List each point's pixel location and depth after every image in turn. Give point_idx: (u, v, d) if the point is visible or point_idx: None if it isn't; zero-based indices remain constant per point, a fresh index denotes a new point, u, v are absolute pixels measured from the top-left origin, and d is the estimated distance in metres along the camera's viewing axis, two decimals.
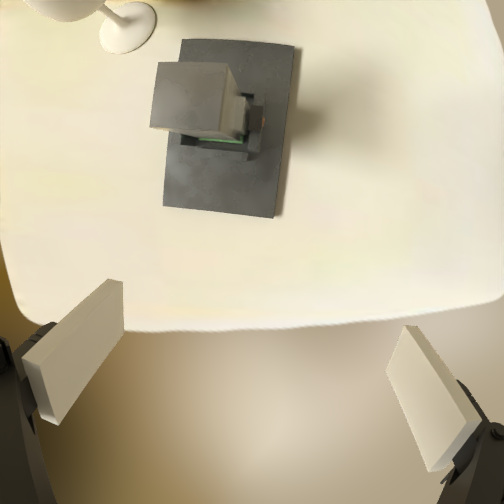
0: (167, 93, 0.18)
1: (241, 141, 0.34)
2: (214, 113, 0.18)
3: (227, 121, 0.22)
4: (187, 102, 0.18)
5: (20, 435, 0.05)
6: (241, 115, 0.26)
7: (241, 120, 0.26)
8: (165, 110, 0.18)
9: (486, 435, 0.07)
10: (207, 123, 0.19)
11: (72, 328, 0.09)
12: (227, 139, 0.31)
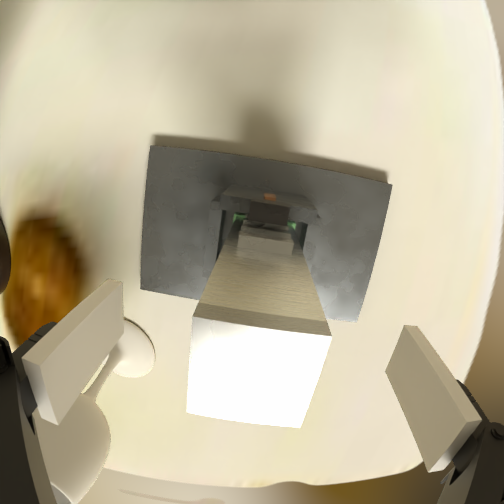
0: (247, 405, 0.11)
1: (292, 224, 0.25)
2: (297, 341, 0.10)
3: (293, 286, 0.13)
4: (267, 380, 0.11)
5: (20, 435, 0.05)
6: (269, 242, 0.17)
7: (277, 242, 0.17)
8: (276, 409, 0.11)
9: (486, 435, 0.07)
10: (314, 352, 0.10)
11: (72, 328, 0.09)
12: None
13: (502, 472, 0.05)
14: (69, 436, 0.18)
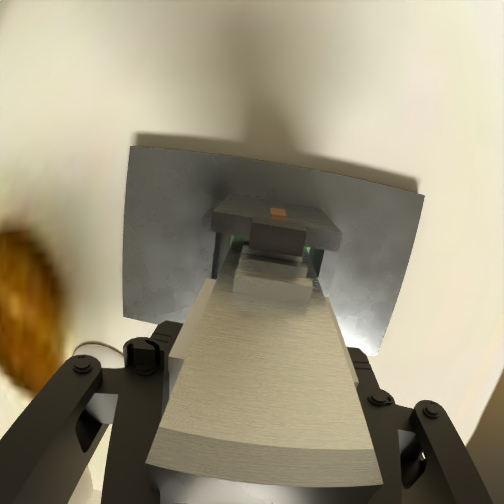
0: None
1: None
2: (326, 495, 0.05)
3: (317, 372, 0.08)
4: None
5: None
6: (278, 285, 0.12)
7: (290, 286, 0.12)
8: None
9: (363, 404, 0.08)
10: (351, 501, 0.05)
11: None
12: None
13: (393, 441, 0.07)
14: None
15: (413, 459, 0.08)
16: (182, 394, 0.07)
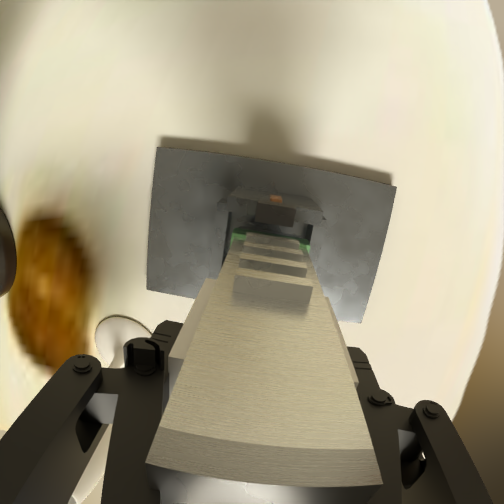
0: None
1: (306, 246, 0.20)
2: (325, 495, 0.05)
3: (317, 372, 0.08)
4: None
5: None
6: (278, 285, 0.12)
7: (290, 286, 0.12)
8: None
9: (363, 404, 0.08)
10: (351, 501, 0.05)
11: None
12: None
13: (393, 441, 0.07)
14: None
15: (413, 459, 0.08)
16: (182, 394, 0.07)
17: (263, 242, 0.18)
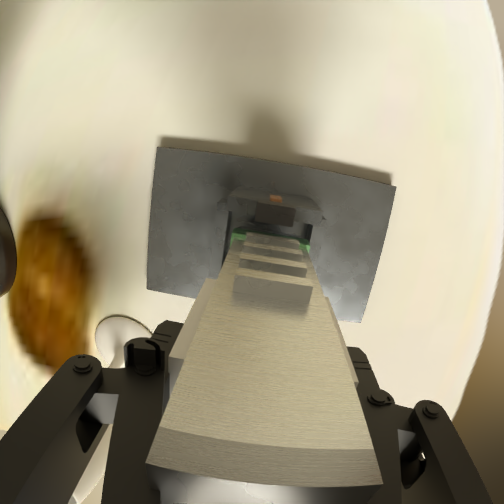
0: None
1: (306, 246, 0.20)
2: (326, 495, 0.05)
3: (317, 372, 0.08)
4: None
5: None
6: (278, 286, 0.12)
7: (290, 286, 0.12)
8: None
9: (363, 404, 0.08)
10: (351, 501, 0.05)
11: None
12: None
13: (393, 441, 0.07)
14: None
15: (413, 459, 0.08)
16: (182, 394, 0.07)
17: (263, 242, 0.18)
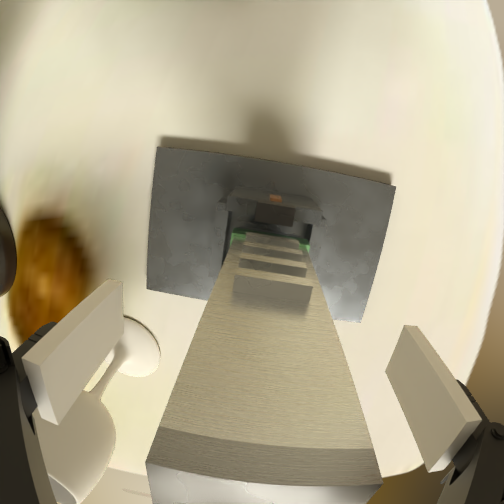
0: None
1: (306, 246, 0.20)
2: (325, 494, 0.05)
3: (317, 372, 0.08)
4: None
5: (20, 435, 0.05)
6: (278, 285, 0.12)
7: (290, 285, 0.12)
8: None
9: (486, 435, 0.07)
10: (351, 500, 0.05)
11: (72, 328, 0.09)
12: None
13: (502, 472, 0.05)
14: (75, 434, 0.18)
15: None
16: (182, 393, 0.07)
17: (263, 242, 0.18)
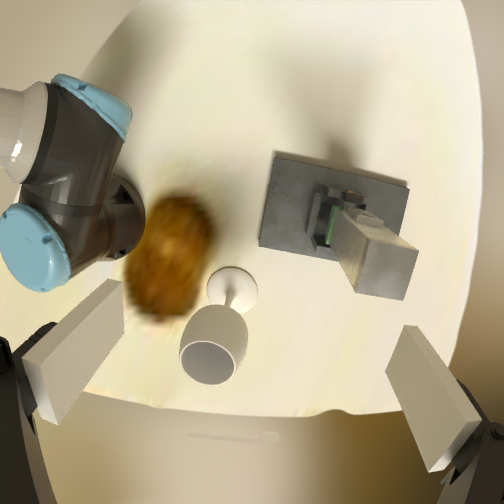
0: (383, 286, 0.25)
1: None
2: (406, 252, 0.24)
3: (394, 237, 0.27)
4: (393, 271, 0.24)
5: (20, 435, 0.05)
6: (372, 220, 0.31)
7: (376, 220, 0.31)
8: (395, 288, 0.25)
9: (486, 435, 0.07)
10: (412, 257, 0.24)
11: (72, 328, 0.09)
12: None
13: (502, 472, 0.05)
14: (235, 325, 0.37)
15: None
16: (366, 234, 0.26)
17: None
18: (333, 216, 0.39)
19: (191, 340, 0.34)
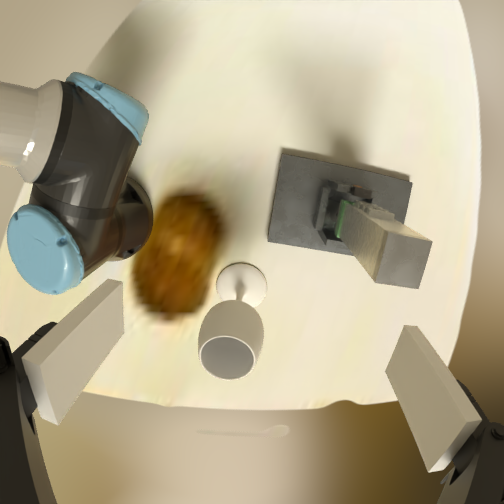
0: (400, 276, 0.26)
1: None
2: (421, 243, 0.25)
3: (407, 229, 0.28)
4: (410, 261, 0.25)
5: (20, 435, 0.05)
6: (383, 213, 0.32)
7: (387, 213, 0.32)
8: (411, 277, 0.26)
9: (486, 435, 0.07)
10: (426, 248, 0.25)
11: (72, 328, 0.09)
12: None
13: (502, 472, 0.05)
14: (252, 319, 0.38)
15: None
16: (383, 227, 0.27)
17: None
18: (343, 210, 0.40)
19: (211, 336, 0.35)
